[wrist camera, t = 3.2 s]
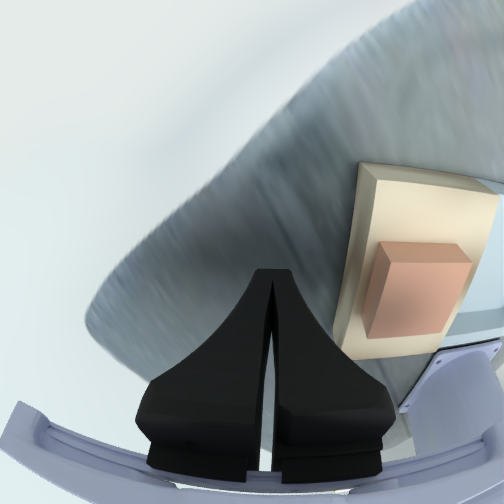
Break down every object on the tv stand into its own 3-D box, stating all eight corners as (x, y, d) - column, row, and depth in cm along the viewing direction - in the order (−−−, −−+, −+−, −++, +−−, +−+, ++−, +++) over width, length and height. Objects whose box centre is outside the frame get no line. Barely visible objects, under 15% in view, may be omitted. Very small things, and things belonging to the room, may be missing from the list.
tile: (430, 311, 12) (441, 332, 11) (360, 315, 13) (367, 339, 11) (456, 244, 10) (472, 262, 9) (379, 241, 11) (390, 262, 9)
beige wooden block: (423, 323, 16) (436, 351, 14) (332, 328, 17) (337, 360, 15) (472, 177, 11) (500, 196, 9) (359, 161, 11) (377, 179, 9)
